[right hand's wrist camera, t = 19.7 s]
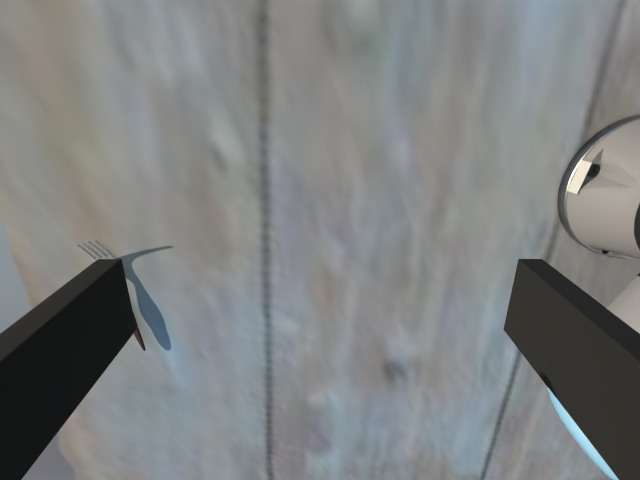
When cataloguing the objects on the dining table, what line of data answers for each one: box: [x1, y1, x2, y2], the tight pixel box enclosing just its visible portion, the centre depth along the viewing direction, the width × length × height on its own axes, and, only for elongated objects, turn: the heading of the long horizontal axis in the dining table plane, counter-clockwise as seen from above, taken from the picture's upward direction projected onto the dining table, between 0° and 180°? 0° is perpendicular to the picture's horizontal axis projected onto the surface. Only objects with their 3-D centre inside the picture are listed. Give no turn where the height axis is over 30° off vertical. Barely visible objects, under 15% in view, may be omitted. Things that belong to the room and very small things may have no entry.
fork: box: [76, 240, 145, 351], centre depth 45 cm, size 3×16×2 cm, turn 11°
